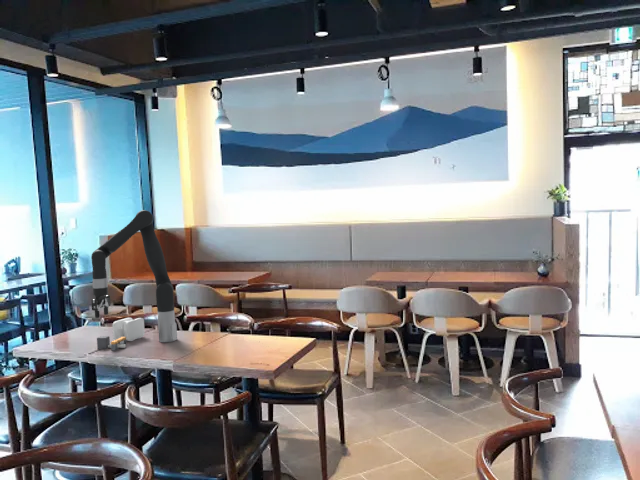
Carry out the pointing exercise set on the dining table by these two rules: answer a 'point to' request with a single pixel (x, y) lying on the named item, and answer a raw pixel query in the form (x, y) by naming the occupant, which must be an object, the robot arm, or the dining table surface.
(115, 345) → the tie bracket
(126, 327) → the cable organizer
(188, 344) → the dining table surface
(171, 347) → the dining table surface
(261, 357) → the dining table surface
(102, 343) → the lead
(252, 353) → the dining table surface
